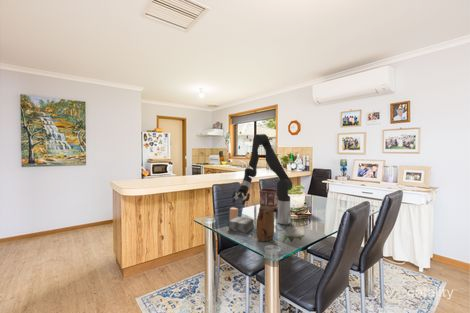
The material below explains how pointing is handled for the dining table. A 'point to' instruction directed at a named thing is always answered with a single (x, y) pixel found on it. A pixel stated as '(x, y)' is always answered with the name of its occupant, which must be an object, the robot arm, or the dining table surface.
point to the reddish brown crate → (269, 198)
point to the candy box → (308, 202)
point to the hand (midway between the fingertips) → (237, 203)
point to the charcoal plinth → (241, 224)
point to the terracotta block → (233, 213)
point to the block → (265, 223)
